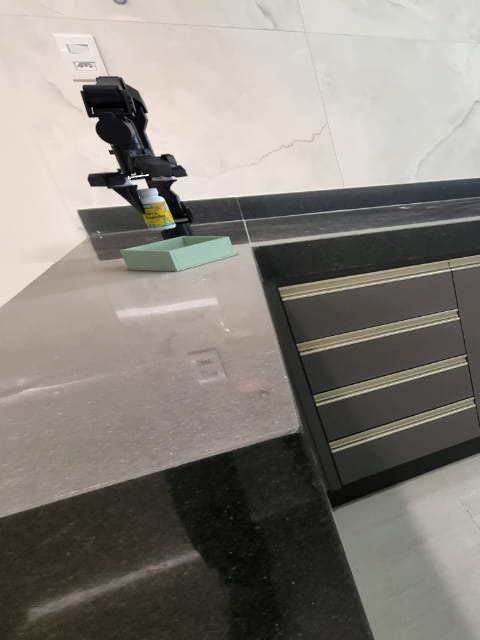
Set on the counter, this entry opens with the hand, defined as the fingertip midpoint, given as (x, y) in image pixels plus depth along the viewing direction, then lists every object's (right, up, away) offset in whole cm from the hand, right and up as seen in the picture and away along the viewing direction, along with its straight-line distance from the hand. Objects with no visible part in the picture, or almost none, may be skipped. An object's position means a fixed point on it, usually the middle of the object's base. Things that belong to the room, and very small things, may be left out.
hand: (155, 212), depth 131 cm
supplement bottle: (0, -4, +2) cm, 4 cm away
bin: (+3, -12, +5) cm, 13 cm away
